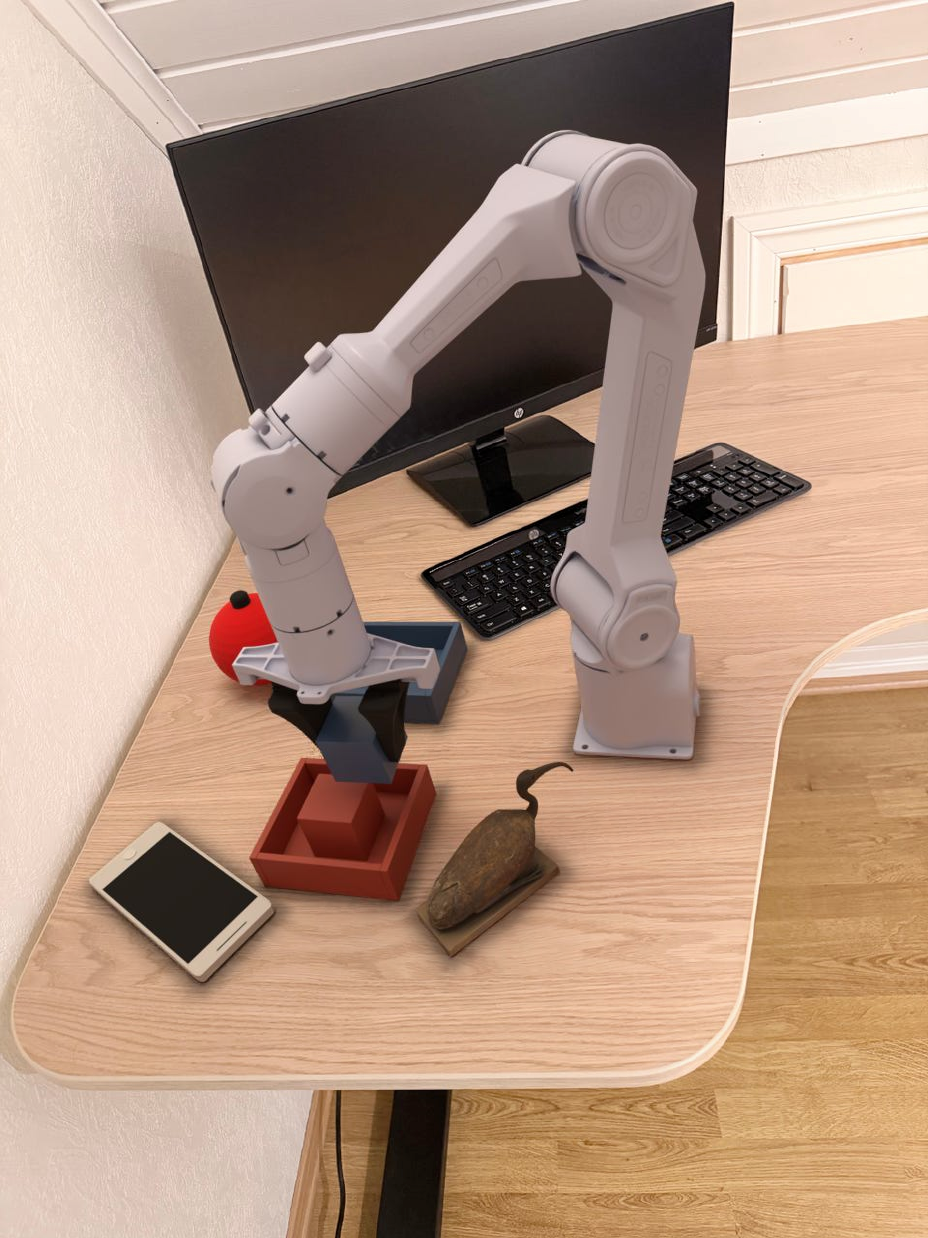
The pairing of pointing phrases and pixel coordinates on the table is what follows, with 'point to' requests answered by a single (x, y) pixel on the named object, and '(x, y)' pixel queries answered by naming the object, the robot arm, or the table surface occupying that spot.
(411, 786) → the red bin
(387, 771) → the blue block
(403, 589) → the table surface
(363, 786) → the red block
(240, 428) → the robot arm
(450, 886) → the figurine
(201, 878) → the smartphone
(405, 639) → the blue bin
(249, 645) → the ornament
